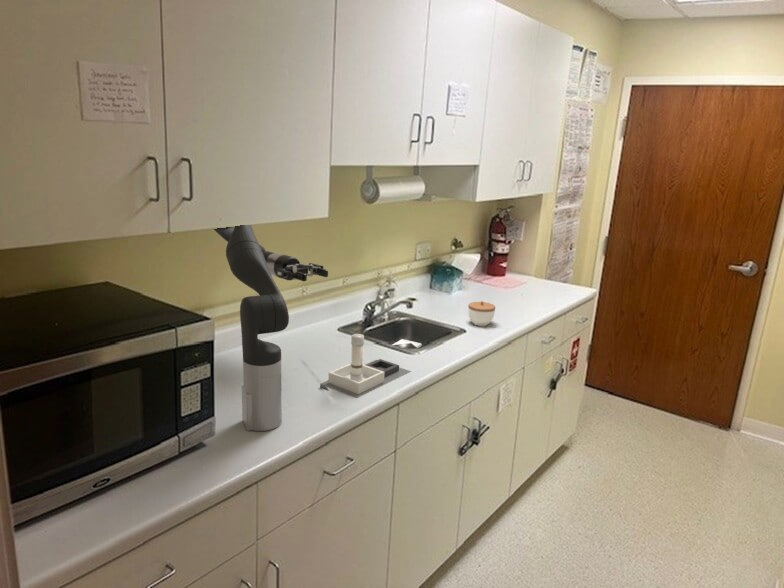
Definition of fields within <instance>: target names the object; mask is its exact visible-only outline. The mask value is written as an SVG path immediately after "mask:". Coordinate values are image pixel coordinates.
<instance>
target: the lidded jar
mask: <svg viewBox="0 0 784 588" xmlns="http://www.w3.org/2000/svg"><path fill="white" fill-rule="evenodd" d="M467 306H468V310H467V311H468V317H469V320H470V321H471V323H472V324H473V325H475V326H478V327H486V325H487V326H488V325H489V324H490V323H492V320H493V319H494V317H495V312H496V311H495V310H496V305H494V304H492V303H490V302H484V301H483V300H482V301H472V302H469V303H468V305H467Z"/></svg>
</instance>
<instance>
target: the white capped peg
mask: <svg viewBox="0 0 784 588" xmlns="http://www.w3.org/2000/svg"><path fill="white" fill-rule="evenodd" d="M350 338H351V342H350V343H351V359H350V360H351V361H350V362H351V373H350V379H352V380H354V381H357V382H360V381H362V378H363V373H362V364H363V360H364V359H363V355H364V345H365V335H364V334H362V333H354V334H351V337H350Z"/></svg>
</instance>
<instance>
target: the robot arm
mask: <svg viewBox="0 0 784 588" xmlns="http://www.w3.org/2000/svg"><path fill="white" fill-rule="evenodd" d="M213 230H214V231H215V233H217V235H219V236H220V237H221V238H222V239H223V240H225V241H226V242H227V245H226V246H225V247H226V248H225V256H226V260H227V263H228V266H229V268H230V271H231V273H232V275H233V276H234V277H235V278H236V279H237V280H239V281H240V282H242V283H243V284H244V285H245V286H247V287H248V288H250V289H252V291H253V290H254V291H255V292H256V293H257V294H258V295H253V296H251V295H250V296H246V297H244V298H243V297H242V300H241V302H240V307H239V317H240V318H239V319H240V329H241V348H242V374H243V375H242V378H243V380H242V381H243V383H242V384H243V385H242V386H241V407H242V408H241V412H242V414H241V415H242V418H241V419H242V422H243V425H244V427H245V429H246V431H247V432H248V431H256V432H266V431H270V430H274V429H276V428H278V427H279V426H280V425H281V424H282V417H283V416H282V349H281V347H280V346H279V345H278V344H276V343H273V342H270V341H267V340H266V341H265V340H261V339H259V338H258V335H264V334H271V333H278V332H282V331H284V330H286V329H287V327H288V326H289V321H290V315H289V310H288V307H287V303H286V301H285V298H284V297H283V295H282V293H281V291H280V289H279V288H278V286H277V284H276V282H275V280H274V278H273V277H275V278H279V279H283V280H286V281H293V280H295V281H296V280H299V281H301V282H307V280H308V278H307V277H313V276H319V277H324V278H328V277H329V271H328V269H325V268H324V265H320V264H317V263H312V262H310V263H308V264H306V263H302V262H300V261H299V260H298V258H297V257H294V256H291V255H286V254H283V253H276V252H273V251H267V250H266V249H265V247H264V246H262V245H261V244H260V243H259V241H258V238H257V236H256V234H255V232H254V230H253V227H252V224H251V225H240V226H235V227H226V228H217V229H213Z"/></svg>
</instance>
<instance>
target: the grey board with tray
mask: <svg viewBox="0 0 784 588" xmlns="http://www.w3.org/2000/svg"><path fill="white" fill-rule="evenodd" d="M411 372H412V370H408V369H405V368H402V367H400V365H399V364H397V363H393V362H391V361H388V360H385V359H383V358H382V359H381V358H379V359H375V360H373V361H370V362H367V363H366V364H364V363H362V373H363V378H362V381H360V382H357V381H354V380H352V379H350V373H351V363H348V364H346V365H343V366H341V367H338V368H336V369H333V370H330V371H329V372H328V380H326V381H323V382H320V384H319V388H321V389H323V390H325V391H328V392H330V391H329V389H328V388H330V389H332V390H335V391H338V392H340V393H343V394H345V395H347V396H350V397H352V398H355V399H357V398H360V397H362V396H364V395H367V394H368V393H370V392H372V391H374V390H375V391H376V390H377V389H379V388H380V387H383V386H385V385H387V384H389V383H391V382H393V381H395V380H397V379H399V378H401V377H403V376H405V375H407V374H410V373H411Z"/></svg>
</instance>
